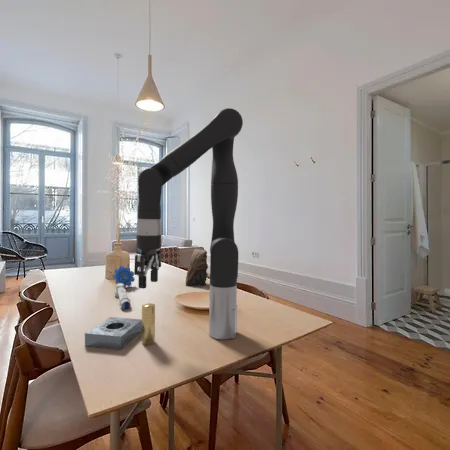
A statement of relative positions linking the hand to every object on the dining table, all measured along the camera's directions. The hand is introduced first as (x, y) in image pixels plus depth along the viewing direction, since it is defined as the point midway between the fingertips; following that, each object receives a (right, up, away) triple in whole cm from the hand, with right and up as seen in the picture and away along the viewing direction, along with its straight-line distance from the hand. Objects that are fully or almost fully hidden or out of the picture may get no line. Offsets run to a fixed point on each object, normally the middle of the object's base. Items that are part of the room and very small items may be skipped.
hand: (148, 284), depth 90 cm
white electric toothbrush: (-23, -17, +42) cm, 51 cm away
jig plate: (-12, -18, +4) cm, 22 cm away
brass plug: (0, -19, +1) cm, 19 cm away
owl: (+6, -16, +77) cm, 78 cm away
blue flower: (-31, -16, +66) cm, 74 cm away
